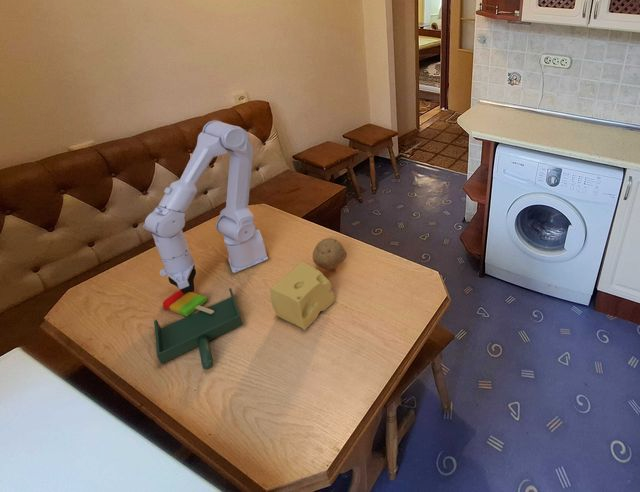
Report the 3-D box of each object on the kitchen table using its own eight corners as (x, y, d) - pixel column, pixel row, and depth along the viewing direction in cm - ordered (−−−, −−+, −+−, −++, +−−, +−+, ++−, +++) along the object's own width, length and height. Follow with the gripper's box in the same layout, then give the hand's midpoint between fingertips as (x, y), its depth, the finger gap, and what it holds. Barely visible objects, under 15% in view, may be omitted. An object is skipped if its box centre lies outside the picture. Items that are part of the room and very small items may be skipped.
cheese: (335, 301, 96) (331, 273, 92) (303, 333, 87) (297, 303, 83) (307, 288, 100) (301, 260, 96) (274, 317, 91) (266, 288, 87)
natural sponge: (309, 267, 107) (303, 240, 103) (335, 252, 114) (331, 226, 110) (324, 282, 102) (319, 255, 98) (351, 266, 108) (348, 239, 104)
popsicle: (183, 292, 98) (181, 287, 97) (223, 307, 93) (222, 301, 92) (161, 308, 93) (159, 302, 92) (203, 324, 88) (201, 318, 88)
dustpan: (158, 330, 87) (154, 320, 86) (233, 296, 97) (231, 287, 95) (164, 398, 73) (159, 388, 72) (251, 351, 83) (248, 341, 81)
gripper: (153, 243, 93) (168, 282, 99) (155, 275, 83) (172, 317, 89) (186, 233, 98) (199, 271, 103) (192, 262, 88) (206, 303, 93)
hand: (189, 291), depth 96 cm, fingers closed, pressing on popsicle
